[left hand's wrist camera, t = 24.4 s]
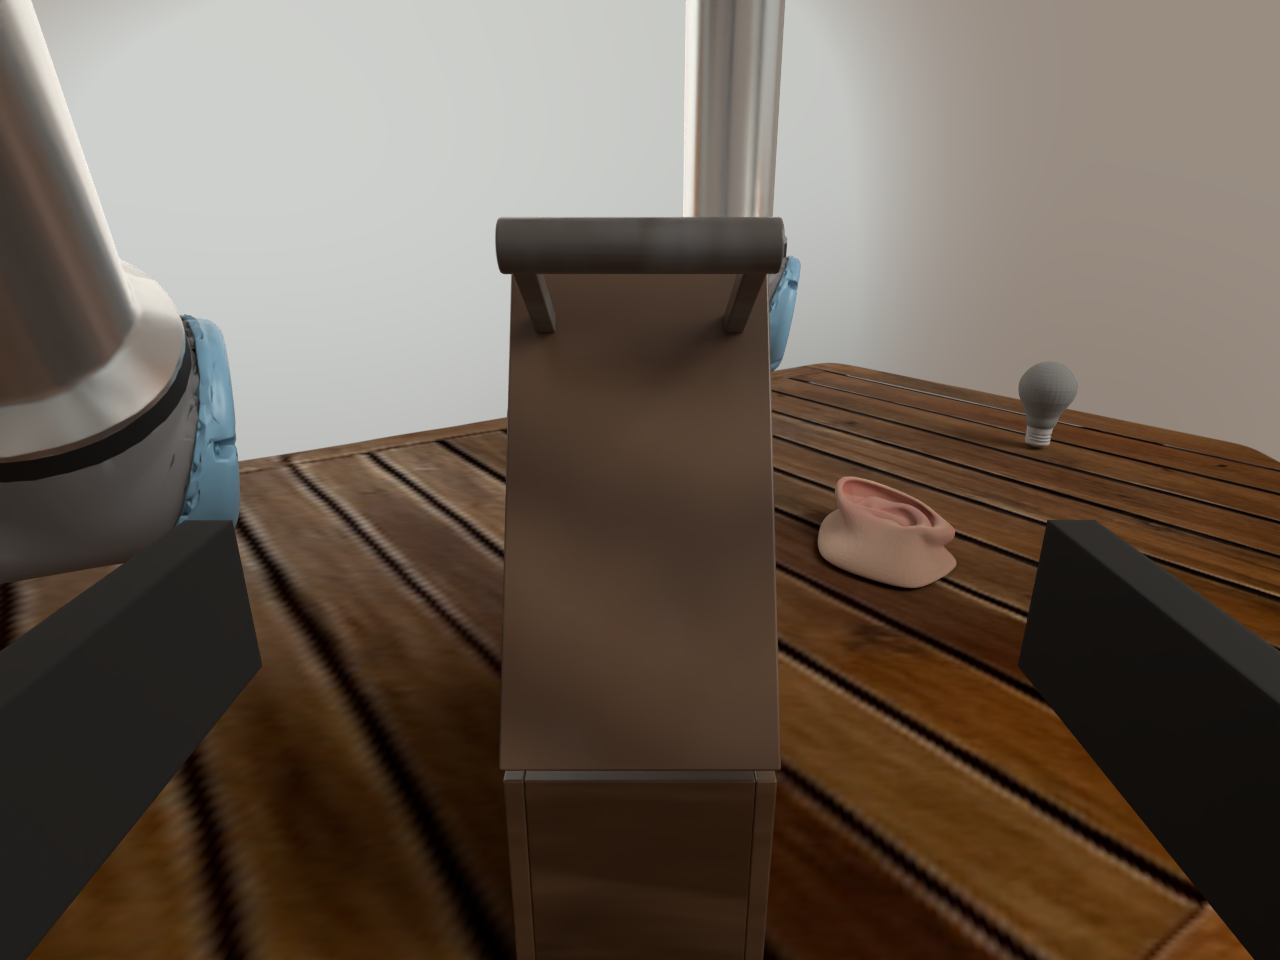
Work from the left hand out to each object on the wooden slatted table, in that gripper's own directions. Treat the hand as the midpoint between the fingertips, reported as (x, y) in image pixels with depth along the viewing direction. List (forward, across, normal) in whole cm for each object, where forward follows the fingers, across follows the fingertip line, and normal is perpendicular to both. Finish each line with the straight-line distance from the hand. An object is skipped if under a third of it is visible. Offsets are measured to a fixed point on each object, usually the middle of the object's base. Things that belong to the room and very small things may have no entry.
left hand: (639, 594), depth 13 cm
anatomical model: (+47, +20, -22) cm, 55 cm away
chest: (+18, 0, -22) cm, 28 cm away
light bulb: (+75, +47, -22) cm, 91 cm away
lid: (+14, 0, -4) cm, 14 cm away
